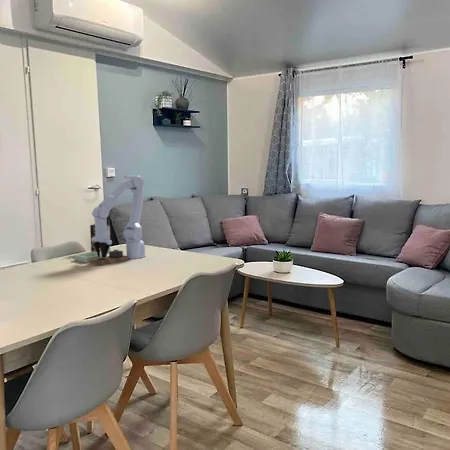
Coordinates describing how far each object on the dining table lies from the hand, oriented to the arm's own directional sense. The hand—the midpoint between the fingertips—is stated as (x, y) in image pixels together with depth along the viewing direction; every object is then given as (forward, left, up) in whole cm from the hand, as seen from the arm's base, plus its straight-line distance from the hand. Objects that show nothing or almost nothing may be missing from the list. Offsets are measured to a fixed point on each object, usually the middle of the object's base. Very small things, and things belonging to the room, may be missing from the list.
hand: (102, 256), depth 239 cm
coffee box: (-15, -23, -3) cm, 28 cm away
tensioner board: (-4, 0, -3) cm, 5 cm away
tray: (0, -11, -3) cm, 11 cm away
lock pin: (0, 0, -3) cm, 3 cm away
